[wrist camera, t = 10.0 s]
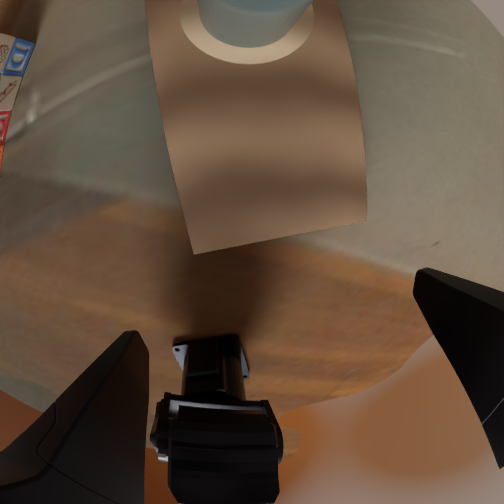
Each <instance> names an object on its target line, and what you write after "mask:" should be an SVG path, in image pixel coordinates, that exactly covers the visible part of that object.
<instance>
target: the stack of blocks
mask: <svg viewBox="0 0 504 504" xmlns="http://www.w3.org/2000/svg"><path fill="white" fill-rule="evenodd" d="M34 46H35V44H34V43H31V42H29V41H25V40H22V39H19V38H15V37H13V36H10V35H7V34H3V33H0V172H1V163H2V156H3V150H4V142H5V137H6V133H7V128H8V123H9V119H10V115H11V110H12V109H13V105H14V102H15V98H16V95H17V92H18V89H19V86H20V83H21V80H22V76H23V74H24V71H25V69H26V66H27V63H28V61H29V58H30V56H31V53H32V51H33V49H34Z"/></svg>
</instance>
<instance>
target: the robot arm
mask: <svg viewBox="0 0 504 504" xmlns="http://www.w3.org/2000/svg"><path fill="white" fill-rule="evenodd" d="M413 296H414V298H415V300H416V302H417V304H418V306H419V308H420V310H421V312H422V313H423V315H424V317H425V319H426V321H427V323H428V325H429V327H430V329H431V331H432V333H433V334H434V336H435V338H436V339H437V341H438V343H439V344H440V346H441V347H442V349H443V351H444V353H445V354H446V356H447V358H448V360H449V361H450V363H451V365H452V367H453V368H454V370H455V372H456V374H457V375H458V377H459V379H460V381H461V383H462V385H463V387H464V388H465V391H466V393H467V394H468V396H469V398H470V400H471V402H472V405H473V407H474V409H475V411H476V413H477V415H478V417H479V419H480V421H481V423H482V426H483V429H484V431H485V433H486V436H487V438H488V441H489V443H490V446H491V448H492V451H493V453H494V456H495V459H496V462H497V464H498V467H499V469H501V468H502V467H504V292H502V291H499V290H496V289H493V288H490V287H487V286H484V285H481V284H478V283H475V282H472V281H469V280H466V279H463V278H460V277H457V276H454V275H450V274H447V273H444V272H441V271H438V270H434V269H431V268H423V269H420V270H418V271H417V272H416V276H415V282H414V287H413ZM233 339H236V340H233ZM177 348H179V349H177ZM172 351H173V353H174V355H175V357H176V359H177V361H178V363H179V365H180V367H181V369H182V370H183V377H182V390H181V395H175V394H171V393H168V392H165V394H164V399H161V401H160V402H158V403H157V406H156V414H155V419H154V423H153V426H152V430H151V433H150V442H151V443H152V444H153V445H154V446H155V447H156V452H158V459H159V461H163V462H168V486H169V488H170V490H171V492H172V494H173V496H174V497H175V499H176V500H177V502H178V503H179V504H273V503H274V502H275V500H276V498H277V496H278V494H279V491H280V490H279V480H278V464H279V463H280V462H281V459H282V456H283V436H282V432H281V429H280V427H279V424H278V422H277V420H276V418H275V415H274V413H273V411H272V409H271V406H270V404H269V402H268V400H261V401H247V400H246V396H245V388H244V380H246V379H248V378H249V377H250V375H249V370H248V367H247V363H246V360H245V356H244V353H243V349H242V345H241V342H240V338H239V336H238V335H236V334H232V335H226V336H220V337H215V338H208V339H202V340H196V341H189V342H182V343H175V344H173V346H172ZM148 404H149V352H148V349H147V347H146V345H145V343H144V341H143V339H142V338H141V336H140V334H139V332H138V331H136V330H132V331H125V332H124V333H123V334H121V335H120V336H119V337H118V338H117V339H116V340H115V341H114V342H113V343H112V344H111V345H110V346H109V347H108V348H107V349H106V350H105V351H104V352H103V353H102V354H101V355H100V356H99V357H98V358H97V359H96V360H95V361H94V362H93V363H92V364H91V365H90V366H89V367H88V368H87V369H86V370H85V371H84V372H83V373H82V374H81V375H80V376H79V377H78V378H77V379H76V380H75V381H74V382H73V383H72V384H71V385H70V386H69V387H68V388H67V389H66V390H65V391H64V392H63V393H62V394H61V395H60V396H59V397H58V398H57V399H56V401H55V402H53V403H52V405H51V406H50V407H49V408H48V409H47V410H46V411H45V412H44V413H43V414H42V415H41V416H40V417H39V418H38V419H37V420H36V421H35V422H34V423H33V424H32V425H31V426H29V427H28V428H27V429H26V430H25V431H24V432H23V433H22V434H21V435H19V436H18V438H16V439H15V440H14V441H13V442H12V443H11V444H10V445H9V446H7V447H6V448H5V449H4V450H3V451H1V452H0V504H144V467H145V444H146V428H147V415H148Z"/></svg>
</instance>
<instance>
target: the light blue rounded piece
mask: <svg viewBox="0 0 504 504" xmlns="http://www.w3.org/2000/svg"><path fill="white" fill-rule="evenodd" d="M313 1H314V0H197V3H198V9H199V15H200V19H201V22H202V24H203V26H204V28H205V29H206V31H207V32H208V33H209V34H210V35H212V36H213V37H214V38H216V39H217V40H219V41H221V42H223V43H225V44H228V45H231V46H236V47H242V48H256V47H263V46H266V45H270V44H272V43H275V42H276V41H278V40H280V39H281V38H283V37H284V36H285V35H286V34H287V33H288V32H289V31H290V29H291V28H292V27H293V26H294V24H295V23H296V22H297V21H298V19H299V18H300V17H301V16H302V14H303V13H304V12H305V11H306V10H307V8H308V7H309V6H310V5H311V4H312V3H313Z"/></svg>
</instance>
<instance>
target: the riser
mask: <svg viewBox="0 0 504 504" xmlns="http://www.w3.org/2000/svg"><path fill="white" fill-rule="evenodd" d="M145 9H146V18H147V27H148V35H149V43H150V50H151V57H152V64H153V71H154V77H155V83H156V89H157V95H158V100H159V106H160V111H161V116H162V122H163V127H164V132H165V137H166V142H167V146H168V151H169V156H170V160H171V165H172V169H173V174H174V178H175V182H176V186H177V191H178V195H179V199H180V203H181V207H182V211H183V215H184V219H185V223H186V227H187V230H188V234H189V238H190V242H191V245H192V249H193V253H194V255H195V254H200V253H205V252H210V251H215V250H220V249H225V248H230V247H235V246H240V245H245V244H250V243H255V242H261V241H266V240H271V239H276V238H281V237H286V236H291V235H297V234H302V233H307V232H312V231H317V230H323V229H328V228H333V227H338V226H344V225H349V224H354V223H360V222H365V221H367V185H366V166H365V152H364V141H363V131H362V122H361V114H360V106H359V99H358V93H357V86H356V80H355V75H354V69H353V64H352V59H351V54H350V50H349V45H348V41H347V36H346V32H345V28H344V24H343V21H342V17H341V13H340V10H339V6H338V3H337V0H314V1H313V3H312V4H311V5H310V6H309V7H308V8H307V10H306V11H305V12H304V13H303V14H302V16H301V17H300V18H299V19H298V21H297V22H296V23H295V24H294V26H293V27H292V28H291V29H290V31H289V32H288V33H287V34H286V35H285V36H284V37H283V38H281V39H280V40H278V41H276V42H275V43H272V44H270V45H266V46H263V47H256V48H242V47H236V46H231V45H228V44H225V43H223V42H221V41H219V40H217V39H216V38H214V37H213V36H212V35H210V34H209V33H208V32H207V31H206V29H205V28H204V26H203V24H202V22H201V19H200V15H199V9H198V3H197V0H145Z"/></svg>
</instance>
